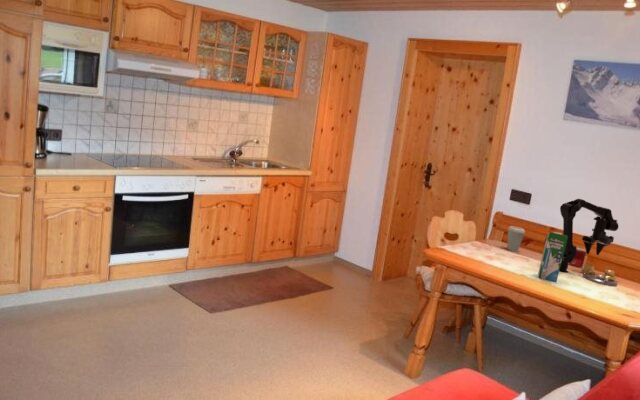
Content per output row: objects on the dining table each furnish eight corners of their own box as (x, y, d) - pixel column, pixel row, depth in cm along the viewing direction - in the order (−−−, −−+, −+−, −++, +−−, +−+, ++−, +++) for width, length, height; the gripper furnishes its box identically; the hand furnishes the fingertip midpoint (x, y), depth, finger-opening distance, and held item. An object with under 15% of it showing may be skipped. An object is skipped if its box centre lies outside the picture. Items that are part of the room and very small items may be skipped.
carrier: (603, 285, 310) (606, 274, 309) (575, 275, 326) (578, 264, 325) (625, 286, 319) (628, 275, 319) (597, 276, 335) (600, 265, 334)
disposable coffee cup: (522, 253, 363) (528, 230, 361) (506, 250, 363) (511, 227, 361) (517, 249, 374) (522, 227, 371) (501, 246, 373) (506, 224, 371)
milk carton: (555, 278, 306) (566, 233, 302) (556, 282, 297) (568, 235, 294) (537, 274, 309) (548, 229, 305) (538, 277, 300) (549, 231, 297)
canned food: (583, 268, 351) (587, 251, 349) (569, 265, 352) (574, 248, 350) (580, 265, 358) (584, 249, 356) (567, 262, 359) (571, 246, 358)
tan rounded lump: (589, 275, 332) (591, 267, 331) (578, 271, 338) (580, 263, 338) (597, 275, 335) (599, 267, 335) (586, 271, 342) (588, 263, 341)
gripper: (602, 231, 322) (594, 257, 324) (621, 233, 331) (614, 259, 333) (584, 226, 331) (577, 251, 333) (604, 228, 340) (597, 253, 343)
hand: (592, 254), depth 335 cm, fingers open, 9 cm apart
